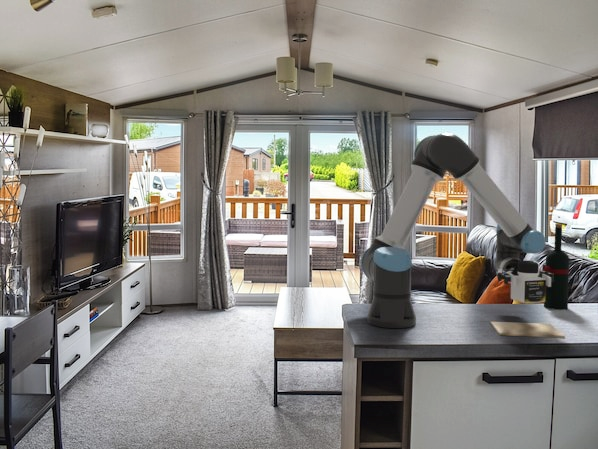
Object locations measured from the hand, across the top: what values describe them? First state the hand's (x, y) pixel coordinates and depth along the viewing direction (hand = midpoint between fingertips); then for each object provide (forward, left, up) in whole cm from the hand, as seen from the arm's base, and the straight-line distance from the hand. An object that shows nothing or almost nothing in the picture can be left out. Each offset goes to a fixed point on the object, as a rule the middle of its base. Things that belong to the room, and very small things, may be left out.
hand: (532, 281), depth 165 cm
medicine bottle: (0, +5, -7) cm, 8 cm away
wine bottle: (+18, +39, -16) cm, 46 cm away
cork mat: (0, +4, -16) cm, 16 cm away
